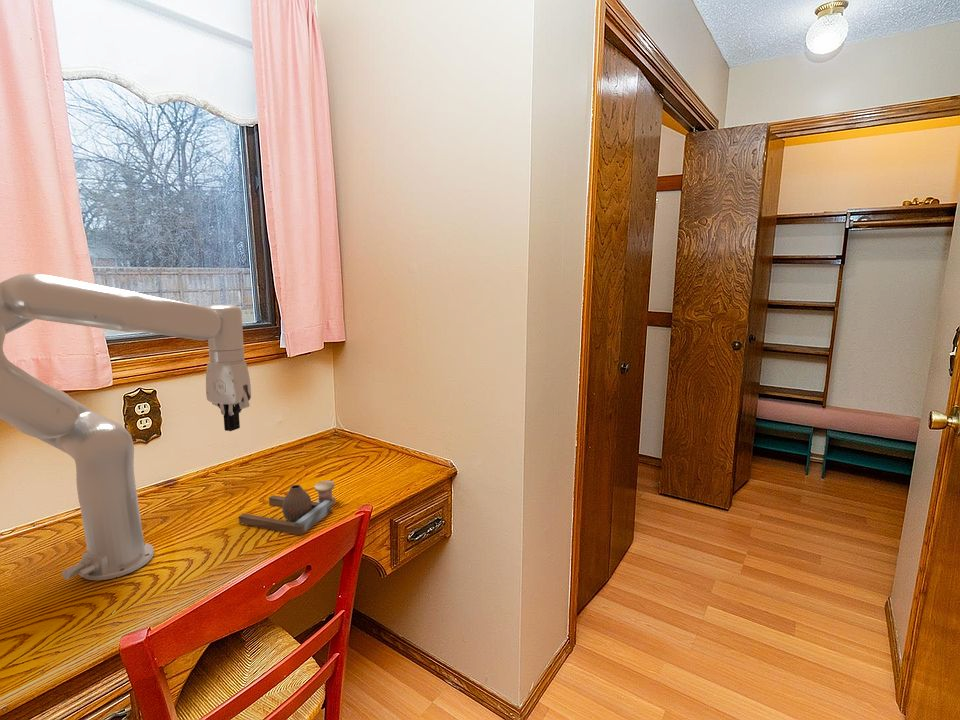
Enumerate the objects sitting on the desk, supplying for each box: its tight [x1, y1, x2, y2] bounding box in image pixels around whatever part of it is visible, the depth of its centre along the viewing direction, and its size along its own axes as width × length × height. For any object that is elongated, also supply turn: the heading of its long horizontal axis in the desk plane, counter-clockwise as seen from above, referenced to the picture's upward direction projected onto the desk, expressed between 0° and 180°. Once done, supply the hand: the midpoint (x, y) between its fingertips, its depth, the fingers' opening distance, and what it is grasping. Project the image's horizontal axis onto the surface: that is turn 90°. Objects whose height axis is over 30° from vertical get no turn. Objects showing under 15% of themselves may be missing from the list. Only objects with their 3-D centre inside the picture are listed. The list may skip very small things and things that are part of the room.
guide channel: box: [238, 494, 332, 536], centre depth 123 cm, size 12×18×3 cm, turn 72°
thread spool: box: [314, 479, 337, 507], centre depth 130 cm, size 5×5×5 cm
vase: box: [281, 484, 313, 523], centre depth 122 cm, size 7×7×9 cm
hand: (232, 429), depth 122 cm, fingers closed
